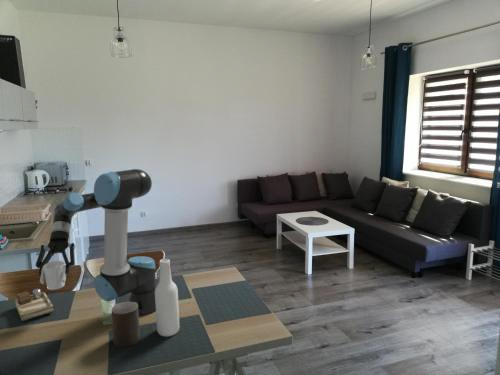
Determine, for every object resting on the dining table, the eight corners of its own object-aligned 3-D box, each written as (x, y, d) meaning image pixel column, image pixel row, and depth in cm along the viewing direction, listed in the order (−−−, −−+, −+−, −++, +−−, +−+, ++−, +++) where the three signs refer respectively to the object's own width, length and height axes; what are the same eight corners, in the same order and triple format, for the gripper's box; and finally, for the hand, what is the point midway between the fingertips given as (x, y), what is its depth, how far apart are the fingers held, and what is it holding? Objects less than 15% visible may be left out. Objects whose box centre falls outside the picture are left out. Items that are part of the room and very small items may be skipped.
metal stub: (41, 298, 168) (40, 290, 167) (34, 300, 166) (33, 292, 165) (40, 295, 170) (39, 288, 170) (33, 297, 168) (32, 289, 168)
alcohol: (174, 338, 141) (170, 265, 135) (153, 336, 142) (148, 264, 137) (182, 325, 149) (179, 256, 144) (162, 324, 151) (158, 255, 146)
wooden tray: (54, 314, 160) (53, 305, 159) (22, 324, 152) (21, 315, 151) (45, 299, 173) (44, 291, 172) (15, 307, 166) (14, 299, 165)
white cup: (57, 291, 152) (54, 269, 150) (41, 289, 153) (38, 267, 151) (70, 283, 159) (68, 261, 157) (54, 281, 161) (52, 260, 159)
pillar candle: (125, 350, 134) (122, 313, 131) (108, 342, 139) (105, 306, 136) (145, 337, 142) (143, 302, 139) (128, 330, 147) (126, 295, 144)
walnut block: (31, 302, 165) (30, 293, 164) (21, 305, 162) (20, 297, 161) (28, 299, 167) (27, 291, 166) (18, 302, 164) (17, 294, 163)
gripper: (86, 235, 170) (80, 282, 157) (38, 238, 166) (28, 287, 153) (82, 228, 164) (76, 276, 151) (32, 231, 160) (22, 281, 147)
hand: (52, 282), depth 152 cm, fingers closed on white cup, 8 cm apart
